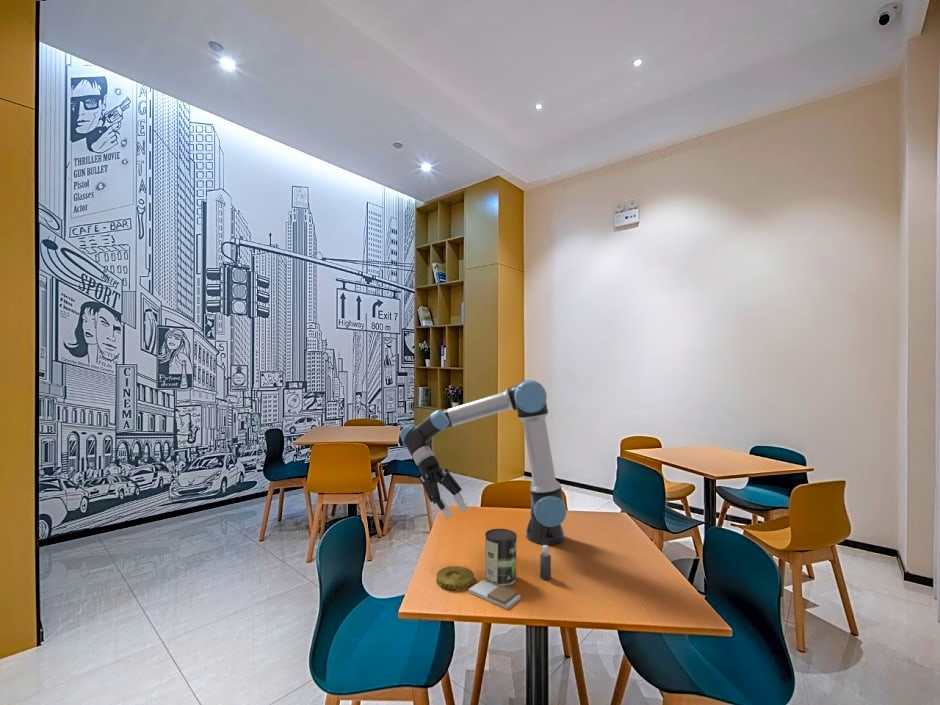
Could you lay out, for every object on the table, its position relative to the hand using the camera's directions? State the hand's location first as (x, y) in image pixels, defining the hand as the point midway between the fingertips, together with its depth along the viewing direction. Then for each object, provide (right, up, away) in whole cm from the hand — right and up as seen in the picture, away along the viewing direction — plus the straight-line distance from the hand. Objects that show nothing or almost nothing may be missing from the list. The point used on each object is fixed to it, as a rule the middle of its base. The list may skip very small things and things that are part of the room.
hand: (457, 513), depth 145 cm
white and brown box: (+12, -16, -23) cm, 30 cm away
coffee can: (+14, -16, -12) cm, 25 cm away
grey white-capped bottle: (+29, -17, -11) cm, 35 cm away
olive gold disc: (0, -16, -15) cm, 22 cm away
